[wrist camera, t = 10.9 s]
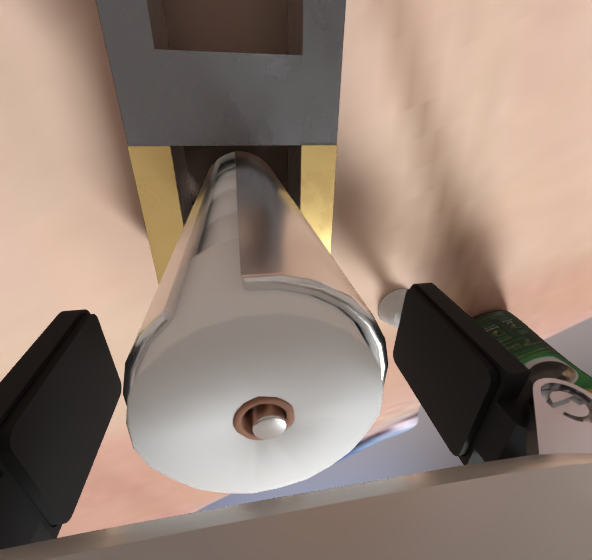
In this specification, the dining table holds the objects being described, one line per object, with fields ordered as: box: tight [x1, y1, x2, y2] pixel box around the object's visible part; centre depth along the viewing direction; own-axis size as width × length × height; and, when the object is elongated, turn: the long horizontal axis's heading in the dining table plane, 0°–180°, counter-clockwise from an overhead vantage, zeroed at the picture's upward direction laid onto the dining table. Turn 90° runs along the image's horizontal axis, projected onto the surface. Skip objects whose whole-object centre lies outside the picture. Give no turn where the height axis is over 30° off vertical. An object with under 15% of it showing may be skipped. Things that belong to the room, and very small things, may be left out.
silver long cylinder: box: [123, 152, 388, 493], centre depth 18 cm, size 6×6×25 cm
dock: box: [96, 0, 346, 284], centre depth 23 cm, size 27×14×6 cm, turn 179°
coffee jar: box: [473, 310, 592, 394], centre depth 35 cm, size 10×8×19 cm
